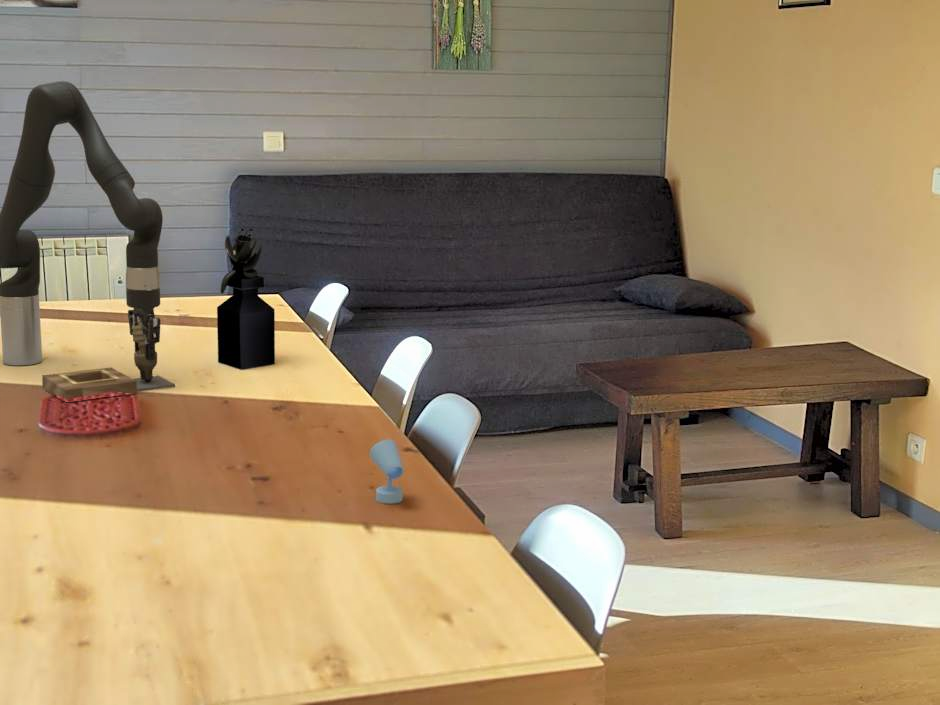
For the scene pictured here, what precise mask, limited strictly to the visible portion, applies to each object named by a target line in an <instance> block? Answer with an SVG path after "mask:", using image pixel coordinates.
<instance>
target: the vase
mask: <svg viewBox="0 0 940 705" xmlns="http://www.w3.org/2000/svg"><path fill="white" fill-rule="evenodd" d="M243 231H244V228H240V231H239V234H238V235H236V237H234V240H235V242H234V244H233V245H232V242H231V238H230V235H228V234H227V235H226V237H225V240H224V248H225V252H226V253H227V254H228V258H229V263H231V267H232V269H231V270H230V271H228V272H227V273H226V274H225V275H224V277H223V278H222V280H221V284H220V294H224V292H225V291H226V288H227V287H228V288H232V295H231V296H230V297H229V298H227V299H226V300H225V301H223V302H222V303H221V304H219V305H218V306H217V307H216V315H217V316H216V318H217V320H216V322H217V323H216V324H217V330H216V332H217V363H218V364H222V365H225V366H227V367H231V368H234V369H237V370H240V371H243V370H251V369H256V368H263V367H268V366H275V365H274V364H276V363H275V362H276V353H275V352H276V349H275V348H276V347H275V346H276V342H275V341H276V339H275V337H276V336H275V335H276V334H275V330H276V329H275V328H276V327H275V325H276V324H275V322H276V321H275V318H276V317H275V314H276V313H275V308H274V307H272V306H271V305H270V304H269V303H267V302H266V301H265V300H263V299H262V298H261V297H260V296H259V289H260V288H261V289H262V288H265V277H263V276H259V274H260V272H259V271H258V270H257V269H255V267H256V265H257V264H258V263H259V261H260V258H261V254H262V249H263V247H262V245H260V246H259V249H258V251H257V252H255V249H256V247H257V243H258V241H257V239H255V240H254V243H253V245H252V247H251V244H252V242H253V237H251V236H252V234H250V233H249V234H248V235H247V233H248V232H250V231H251V232H252V231H253V228H250V229H248V230H247V231H245V234H240V233H241V232H243ZM254 252H255V253H254Z"/></svg>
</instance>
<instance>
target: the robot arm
mask: <svg viewBox="0 0 940 705" xmlns="http://www.w3.org/2000/svg"><path fill="white" fill-rule="evenodd" d="M67 123H68V124H69V125H70V126H71V127H72V128H73V129H74V130H75V132H76V133H77V135H78V136H79V138H80V139H81V142H82V145H83V149H84V155H85V161H86V165H87V168H88V170H89V172H90V174H91V176H92V177H93V179H94V180H95V181H96V183H97V184H98V186H100V188H101V189H102V191H103V192H104V193H105V194H106V196H107V199H108V201H109V203H110V206H111V207H112V210H113V212H114V215H115V217H116V219H117V220H118V221H119V223H120V224H121V225H122V226H123V227H125V228H126V229H127V230H129V231H132V232H133V236H132V239H131V240H130V241H129V242H128V243H127V244H126V247H125V262H126V264H125V265H126V268H125V269H126V270H125V293H126V294H125V295H126V298H125V299H126V306H127V307H128V308H132V309H128V310H127V315H128V316H127V318H128V326H129V335H130V336H132V339H133V338H134V336H133V335H132V332H133V330H132V326H137V325H138V324H137V322H138V323H139V325H140V326H141V329H140V332H141V335H143V337H144V342H145V359H146V360H154V359H155V351H156V344H157V343H160V342H161V341H160V340H161V339H160V338H161V317H156V314H155V308H158V307H159V306H160V305H161V283H160V282H161V281H160V270H159V254H158V247H159V243H160V240H161V233H162V228H163V211H162V208H161V206H160V204H159V203H158V202H157V201H156V200H155V199H153V198H147V197H143V198H138V197H137V195H136V193H135V191H134V189H135V186H136V184H135V180H134V178H133V176H132V175H131V173H130V172H129V171H128V169H127V168H126V167H125V166H124V164H123V162H121V160H120V159H119V157H118V156H117V155H116V153H115V152H114V150H113V148H112V147H111V146H110V144H109V143H108V140H107V139H106V137H105V135H104V133H103V131H102V129H101V127H100V126H99V123H98V121H97V120H96V118H95V116H94V113H93V112H92V110H91V109H90V106H89V104H88V103H87V101H86V100H85V98H84V96H83V94H82V92H81V91H80V90H79V89H78V87H77V86H76V85H75V84H73V83H72V82H70V81H64V80H62V81H55V82H49V83H48V82H47V83H43V84H39V85H36V86H34V87H33V88H32V89H31V91H30V92H29V94H28V97H27V99H26V105H25V110H24V118H23V125H22V131H21V136H20V141H19V143H18V144H19V146H18V149H17V154H16V157H15V161H14V164H13V166H12V170H11V174H10V177H9V181H8V186H7V191H6V193H5V194H6V195H5V198H4V201H3V204H2V207H1V210H0V269H17V270H16V272H15V273H14V274H13V275H12V276H11V277H10V278H7V279H6V280H4V281H2V282H0V332H1V333H0V334H1V350H2V363H3V364H4V365H7V366H30V365H37V364H39V363H41V362H43V346H42V345H43V344H42V330H41V329H42V328H41V327H42V326H41V310H40V308H41V307H40V294H39V293H40V290H39V288H40V284H41V249H40V247H41V246H40V240H39V239H38V237H37V234H36V233H35V232H34V231H32V230H30V229H21V228H22V226H23V225H24V223H25V222H26V221H27V220H28V219H29V218H30V217H32V215H33V214H34V213H36V212H37V211H38V210H39V209H40V208H41V207H42V206H43V205H44V204H45V202H46V201H47V200H48V199H49V196H50V193H51V190H52V187H53V184H54V180H55V176H56V168H55V164H54V162H53V158H52V156H51V153H50V150H49V144H50V140H51V137H52V134H53V131H54V129H55V128H56V126H58V125H64V124H67ZM143 325H144V326H145V327H147V329H148V331H145V330H144V326H143ZM155 333H156V335H155ZM147 335H148V337H147ZM136 351H139V347H138V343H137V342H134V353H135V352H136Z"/></svg>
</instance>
